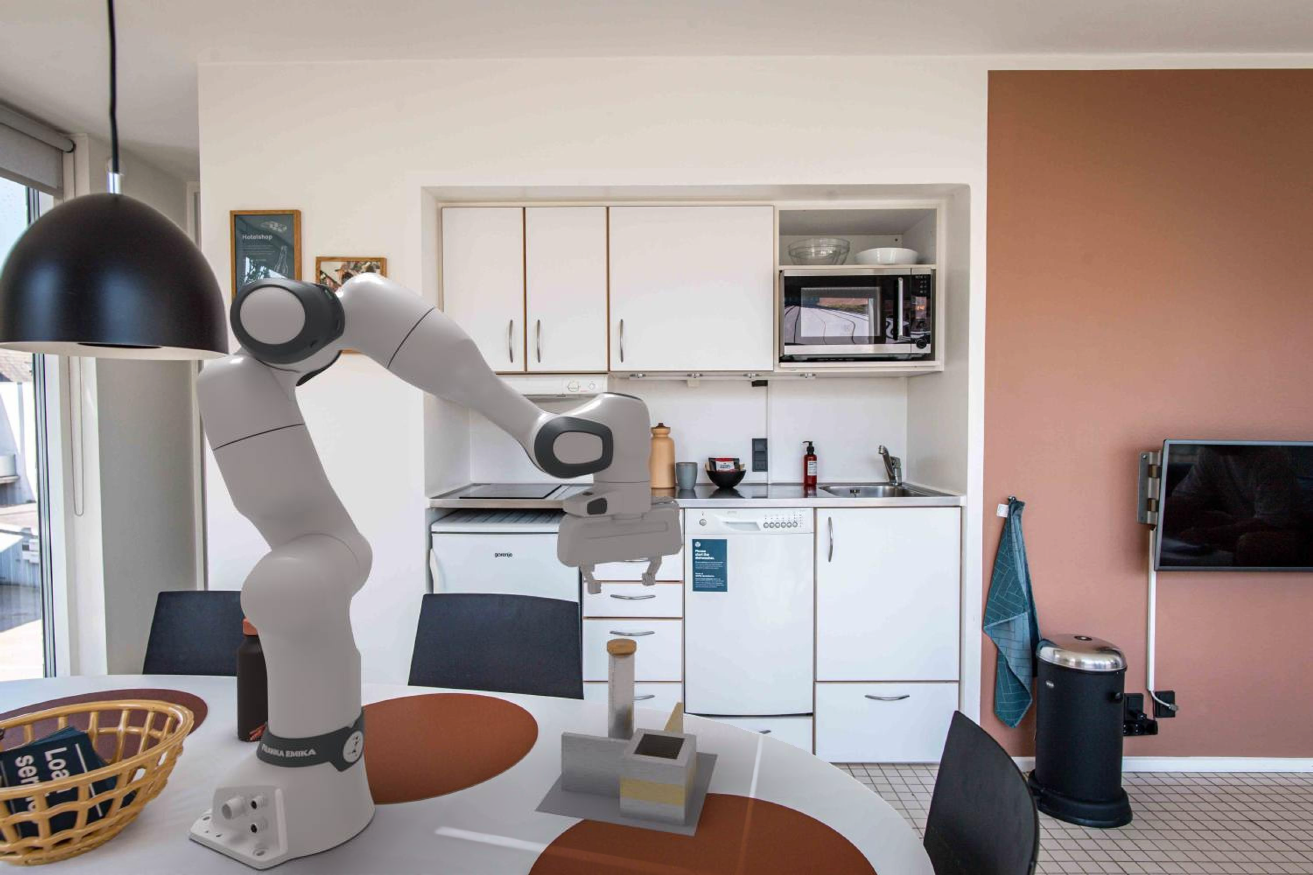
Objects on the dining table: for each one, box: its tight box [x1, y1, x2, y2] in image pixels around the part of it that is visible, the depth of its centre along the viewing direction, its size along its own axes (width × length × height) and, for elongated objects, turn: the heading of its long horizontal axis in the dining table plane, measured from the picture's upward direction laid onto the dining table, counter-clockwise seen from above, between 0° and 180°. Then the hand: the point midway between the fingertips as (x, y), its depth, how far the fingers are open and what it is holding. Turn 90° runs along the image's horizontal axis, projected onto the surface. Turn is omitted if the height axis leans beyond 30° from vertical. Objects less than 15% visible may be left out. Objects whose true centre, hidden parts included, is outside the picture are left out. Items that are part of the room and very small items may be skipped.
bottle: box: [236, 617, 268, 742], centre depth 112 cm, size 7×7×20 cm
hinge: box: [560, 701, 697, 826], centre depth 96 cm, size 19×19×8 cm
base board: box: [534, 751, 718, 837], centre depth 96 cm, size 22×21×1 cm
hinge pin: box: [606, 637, 638, 740], centre depth 100 cm, size 5×5×19 cm
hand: (622, 589), depth 99 cm, fingers open, 8 cm apart
